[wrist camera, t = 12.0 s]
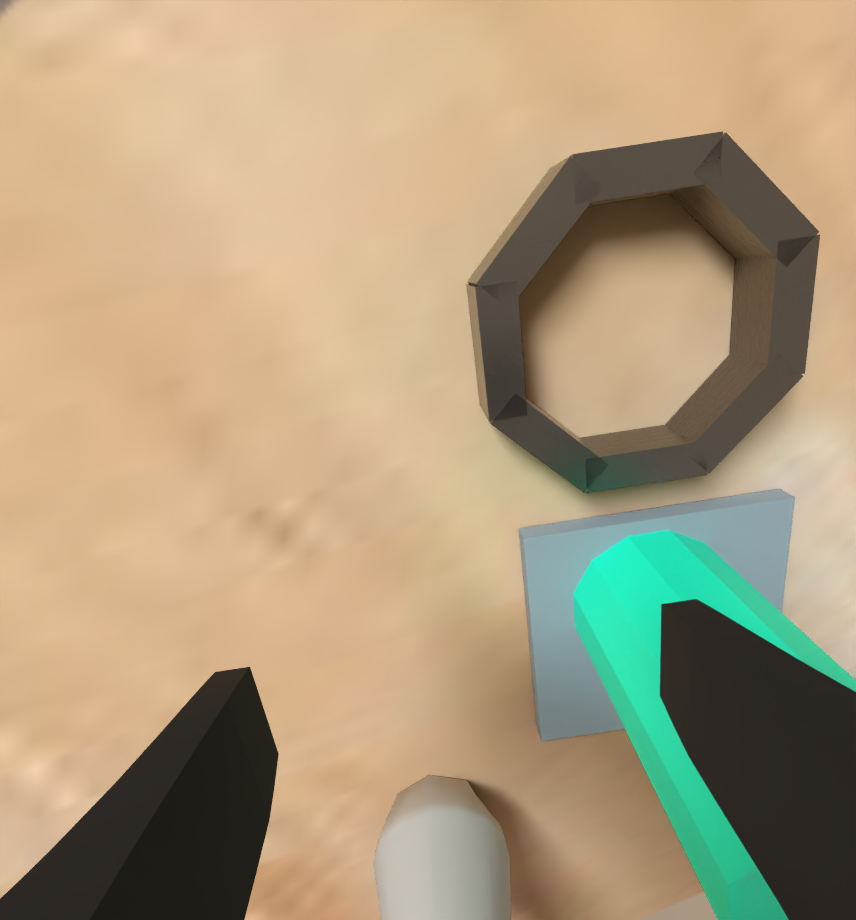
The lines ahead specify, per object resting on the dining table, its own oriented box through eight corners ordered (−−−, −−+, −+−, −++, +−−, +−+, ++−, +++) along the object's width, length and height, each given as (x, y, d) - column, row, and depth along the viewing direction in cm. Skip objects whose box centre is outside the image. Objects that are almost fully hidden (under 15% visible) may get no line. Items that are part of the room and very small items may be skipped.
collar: (781, 132, 16) (833, 115, 14) (756, 442, 19) (794, 461, 18) (455, 182, 16) (462, 171, 14) (488, 483, 19) (498, 506, 17)
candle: (745, 536, 20) (1201, 893, 9) (698, 665, 22) (1018, 1091, 11) (590, 523, 19) (859, 886, 8) (557, 656, 21) (736, 1096, 10)
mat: (779, 488, 20) (794, 497, 19) (759, 692, 24) (770, 706, 23) (518, 528, 20) (523, 538, 19) (537, 726, 24) (541, 741, 23)
